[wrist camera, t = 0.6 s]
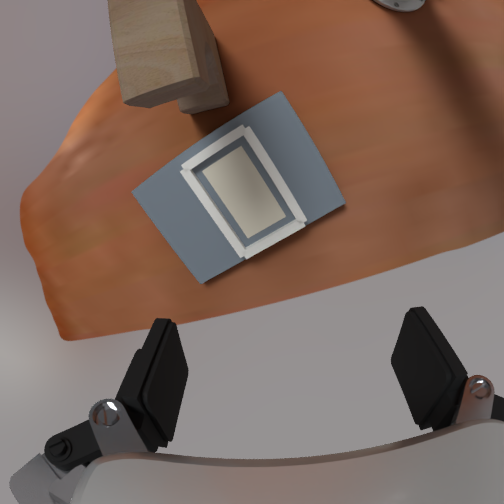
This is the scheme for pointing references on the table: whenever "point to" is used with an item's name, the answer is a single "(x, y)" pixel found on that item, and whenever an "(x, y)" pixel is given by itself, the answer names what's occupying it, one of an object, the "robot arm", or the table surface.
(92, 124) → the table surface
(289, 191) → the board
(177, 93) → the decorative block
